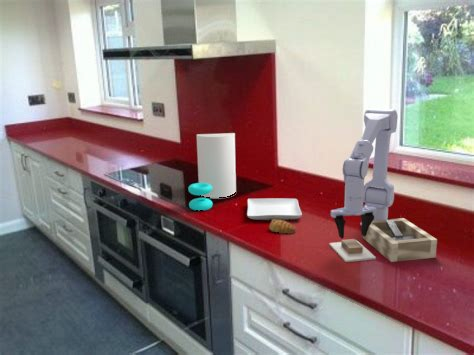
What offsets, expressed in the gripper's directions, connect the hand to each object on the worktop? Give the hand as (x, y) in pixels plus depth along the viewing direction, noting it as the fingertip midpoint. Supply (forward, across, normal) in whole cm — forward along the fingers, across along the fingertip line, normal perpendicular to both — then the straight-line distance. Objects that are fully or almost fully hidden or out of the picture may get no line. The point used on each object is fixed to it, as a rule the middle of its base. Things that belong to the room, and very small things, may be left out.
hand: (352, 236), depth 153 cm
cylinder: (+6, -33, +77) cm, 84 cm away
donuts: (+6, -43, +57) cm, 72 cm away
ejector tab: (+2, +16, 0) cm, 16 cm away
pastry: (+6, -17, +24) cm, 30 cm away
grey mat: (+5, 0, 0) cm, 5 cm away
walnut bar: (+5, 0, 0) cm, 5 cm away
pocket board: (+5, +16, -1) cm, 17 cm away
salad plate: (+6, -15, +43) cm, 46 cm away
